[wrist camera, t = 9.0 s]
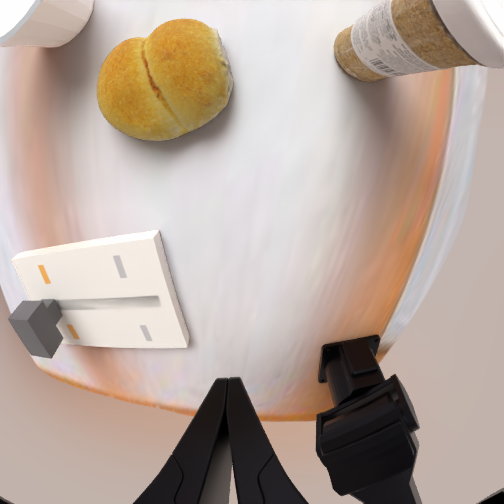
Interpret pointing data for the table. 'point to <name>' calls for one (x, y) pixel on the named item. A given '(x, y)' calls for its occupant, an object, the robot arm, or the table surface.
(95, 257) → the fader panel
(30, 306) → the fader knob
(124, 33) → the table surface
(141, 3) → the table surface
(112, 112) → the bread roll
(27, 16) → the white cup
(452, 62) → the sprinkles bottle
